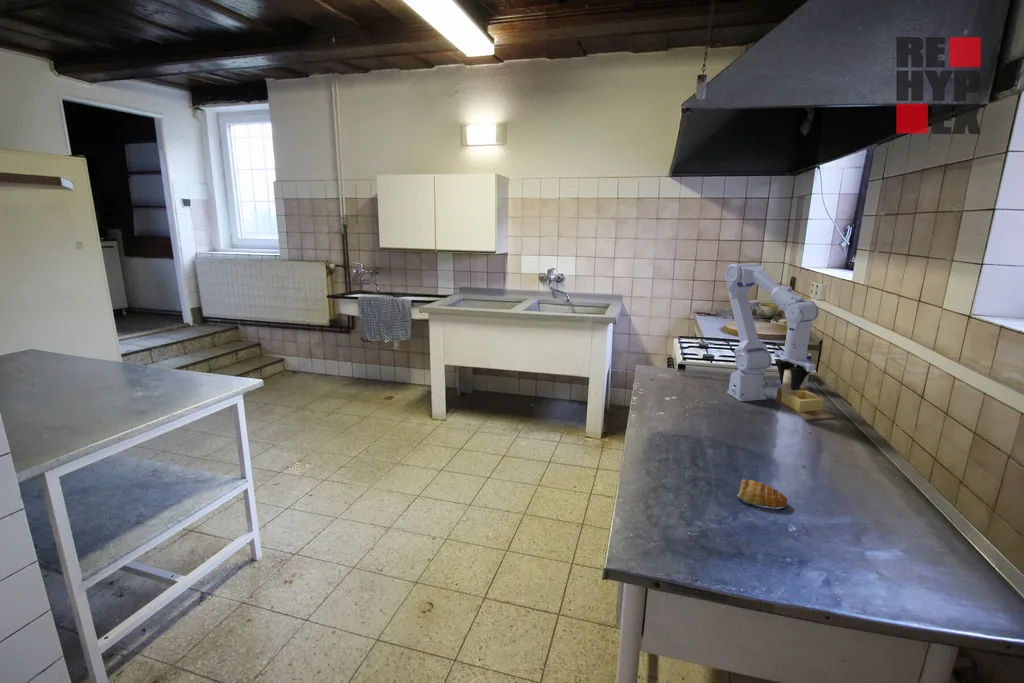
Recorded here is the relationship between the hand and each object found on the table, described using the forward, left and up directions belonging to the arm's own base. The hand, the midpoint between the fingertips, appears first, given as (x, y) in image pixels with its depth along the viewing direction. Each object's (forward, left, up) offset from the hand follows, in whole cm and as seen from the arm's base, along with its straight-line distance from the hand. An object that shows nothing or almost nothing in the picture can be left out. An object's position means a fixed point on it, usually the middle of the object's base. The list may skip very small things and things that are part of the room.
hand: (789, 386), depth 145 cm
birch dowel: (0, 0, -2) cm, 2 cm away
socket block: (+8, +3, -9) cm, 12 cm away
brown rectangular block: (+8, +2, -9) cm, 12 cm away
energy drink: (+20, +20, -9) cm, 30 cm away
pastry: (-36, -39, -9) cm, 53 cm away
